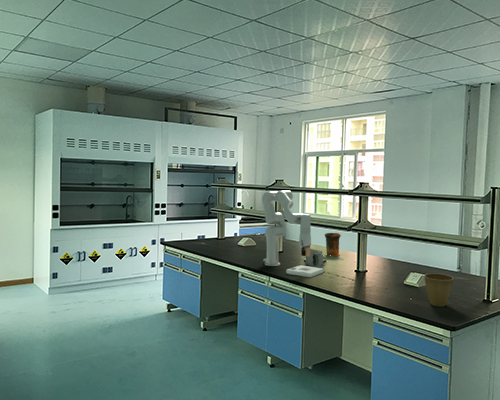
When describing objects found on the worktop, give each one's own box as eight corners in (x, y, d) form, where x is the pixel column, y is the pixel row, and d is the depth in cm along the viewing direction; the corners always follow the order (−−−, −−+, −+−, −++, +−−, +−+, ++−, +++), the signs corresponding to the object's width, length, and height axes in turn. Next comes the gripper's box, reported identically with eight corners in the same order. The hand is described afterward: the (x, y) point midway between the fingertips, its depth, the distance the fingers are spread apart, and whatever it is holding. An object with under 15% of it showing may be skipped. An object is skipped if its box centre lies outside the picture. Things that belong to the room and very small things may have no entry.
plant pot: (418, 303, 239) (418, 275, 238) (434, 299, 247) (435, 272, 246) (441, 310, 226) (442, 281, 225) (458, 306, 234) (459, 277, 233)
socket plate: (286, 273, 313) (286, 268, 313) (300, 269, 328) (300, 264, 328) (309, 277, 300) (309, 272, 300) (323, 272, 316) (323, 267, 316)
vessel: (334, 257, 376) (334, 234, 375) (321, 255, 387) (321, 233, 386) (344, 255, 385) (343, 233, 385) (331, 253, 396) (331, 232, 396)
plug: (300, 255, 313) (300, 247, 313) (304, 254, 317) (304, 246, 317) (306, 256, 310) (306, 247, 310) (310, 255, 314) (310, 246, 314)
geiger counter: (304, 247, 347) (323, 252, 325) (310, 246, 350) (329, 251, 327) (304, 264, 348) (323, 270, 325) (310, 263, 350) (329, 269, 328)
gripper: (306, 229, 322) (307, 253, 322) (294, 231, 308) (295, 256, 309) (315, 229, 317) (315, 253, 318) (303, 232, 304) (303, 257, 304)
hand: (305, 254), depth 313 cm, fingers closed on plug, 5 cm apart
